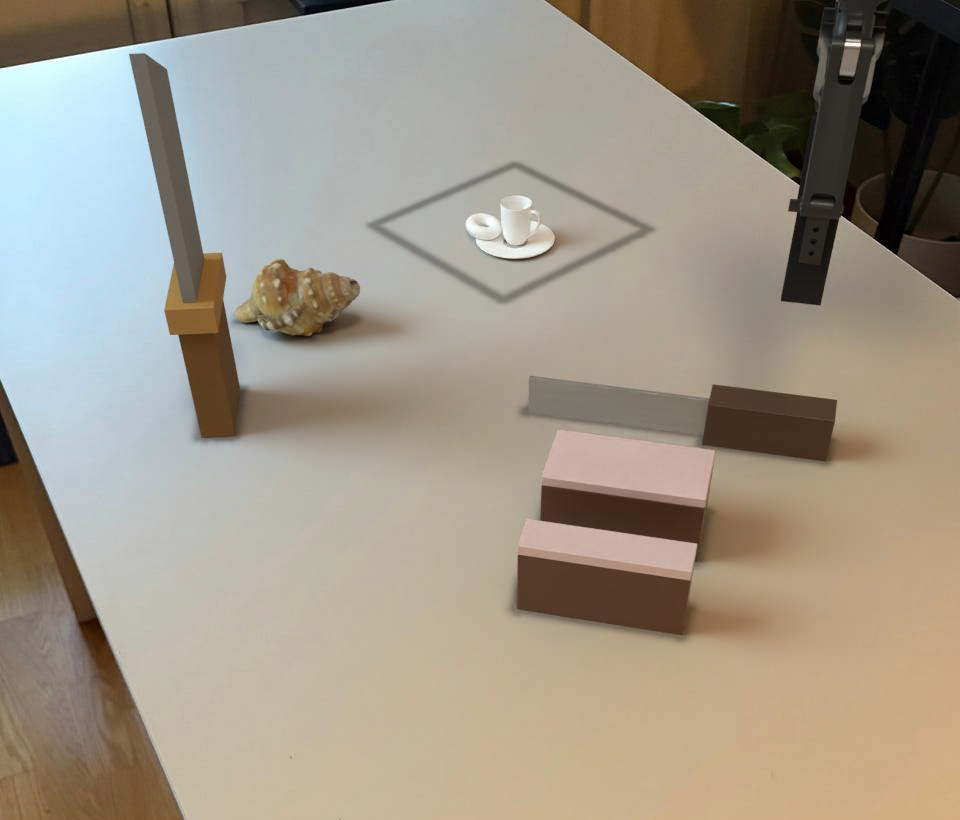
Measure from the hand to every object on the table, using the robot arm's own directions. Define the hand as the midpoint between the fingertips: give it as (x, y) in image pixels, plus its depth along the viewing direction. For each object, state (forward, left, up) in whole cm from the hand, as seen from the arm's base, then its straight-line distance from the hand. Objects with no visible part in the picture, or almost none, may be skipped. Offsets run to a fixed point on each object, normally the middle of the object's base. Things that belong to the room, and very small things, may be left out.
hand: (807, 252), depth 88 cm
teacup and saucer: (+29, -31, -17) cm, 46 cm away
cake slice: (+10, +23, -17) cm, 30 cm away
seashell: (+44, -9, -17) cm, 48 cm away
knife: (+46, +6, -17) cm, 49 cm away
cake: (+10, +13, -17) cm, 23 cm away
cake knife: (+8, 0, -17) cm, 18 cm away
